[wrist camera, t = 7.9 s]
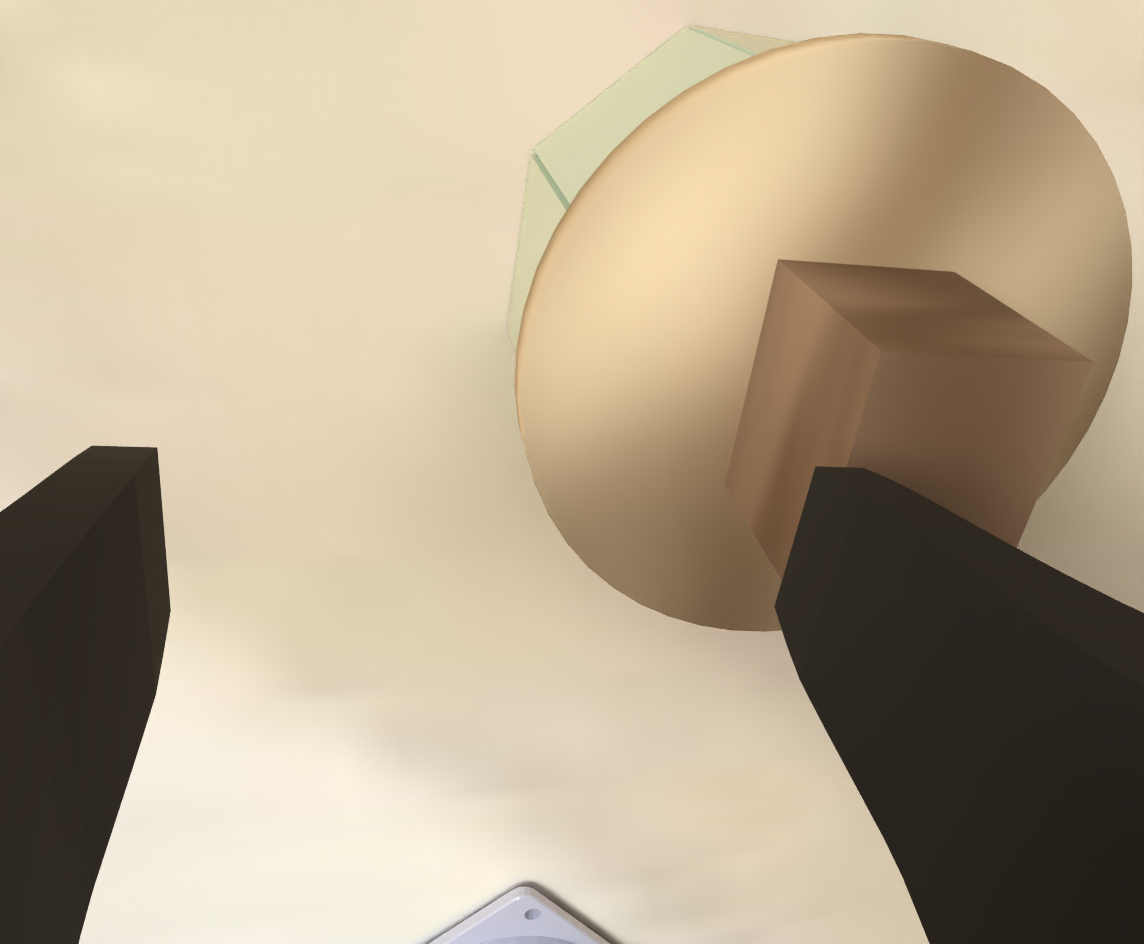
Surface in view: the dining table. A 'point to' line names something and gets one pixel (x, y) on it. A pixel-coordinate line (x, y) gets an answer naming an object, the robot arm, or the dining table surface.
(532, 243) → the green bowl
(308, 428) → the dining table surface
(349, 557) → the dining table surface
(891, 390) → the oak lid
